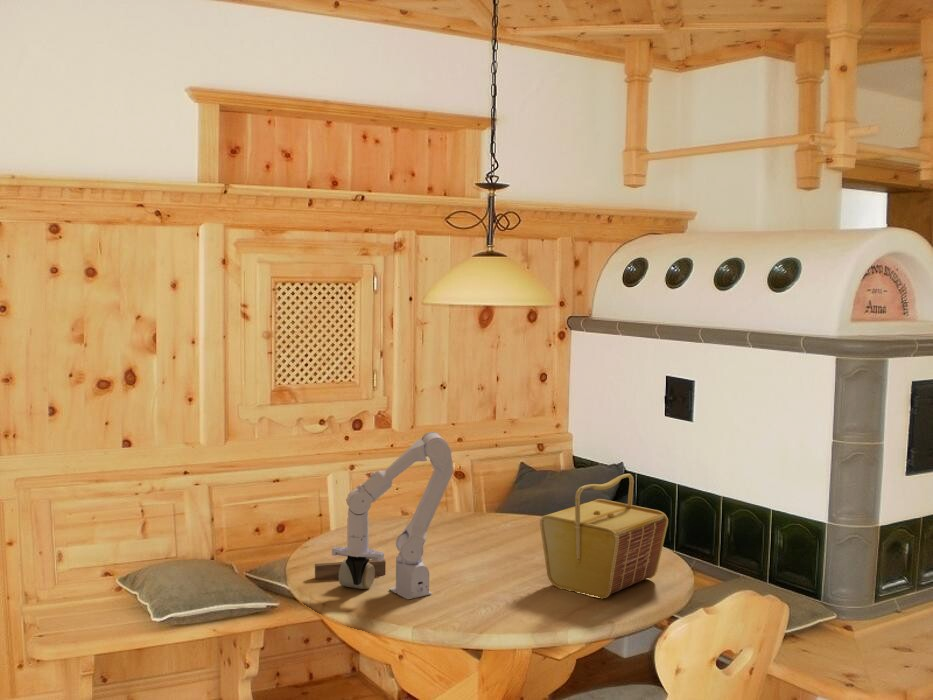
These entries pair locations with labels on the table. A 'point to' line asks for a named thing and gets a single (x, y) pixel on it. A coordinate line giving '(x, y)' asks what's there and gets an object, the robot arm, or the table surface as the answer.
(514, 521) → the table surface
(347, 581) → the ceramic mug
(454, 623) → the table surface
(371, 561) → the rail
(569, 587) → the picnic basket
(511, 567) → the table surface
